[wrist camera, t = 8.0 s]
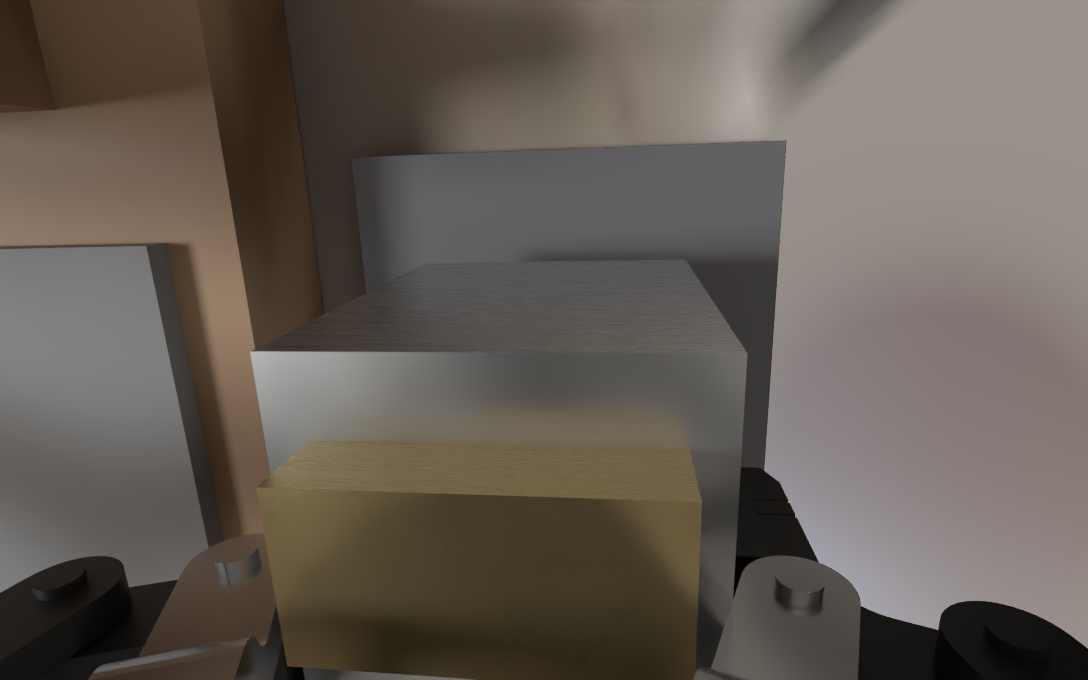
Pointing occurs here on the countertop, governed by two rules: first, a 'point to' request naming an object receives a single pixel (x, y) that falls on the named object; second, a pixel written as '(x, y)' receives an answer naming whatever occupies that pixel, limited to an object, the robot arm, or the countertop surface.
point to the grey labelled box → (505, 475)
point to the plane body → (142, 274)
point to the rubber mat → (595, 224)
